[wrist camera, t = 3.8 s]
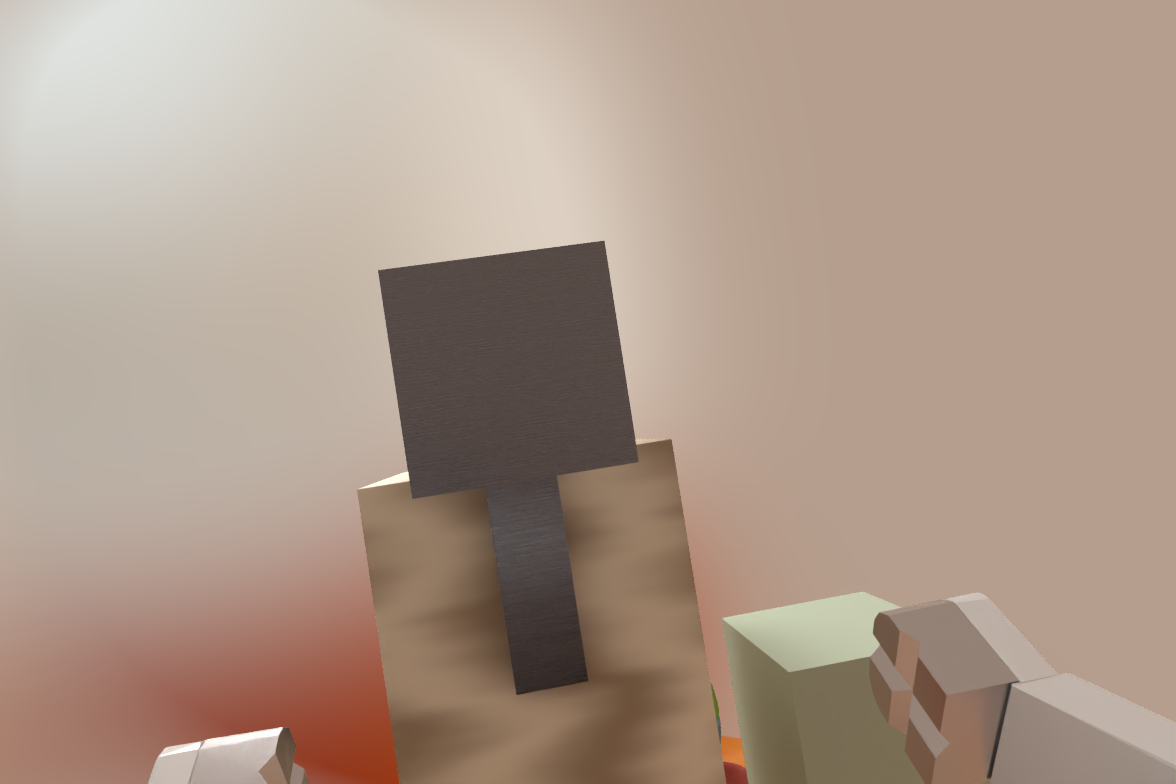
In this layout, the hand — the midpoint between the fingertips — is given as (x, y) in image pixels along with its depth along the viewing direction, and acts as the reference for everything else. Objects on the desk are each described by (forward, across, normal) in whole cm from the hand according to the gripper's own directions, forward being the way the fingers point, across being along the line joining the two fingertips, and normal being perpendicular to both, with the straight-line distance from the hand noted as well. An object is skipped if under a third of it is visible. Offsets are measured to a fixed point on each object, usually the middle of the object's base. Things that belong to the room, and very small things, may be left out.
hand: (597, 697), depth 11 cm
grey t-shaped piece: (+9, 0, -10) cm, 13 cm away
